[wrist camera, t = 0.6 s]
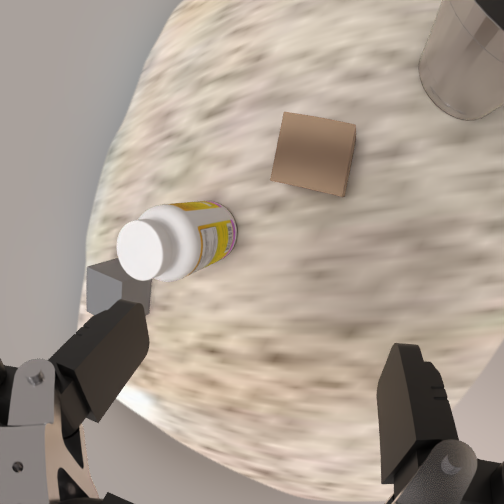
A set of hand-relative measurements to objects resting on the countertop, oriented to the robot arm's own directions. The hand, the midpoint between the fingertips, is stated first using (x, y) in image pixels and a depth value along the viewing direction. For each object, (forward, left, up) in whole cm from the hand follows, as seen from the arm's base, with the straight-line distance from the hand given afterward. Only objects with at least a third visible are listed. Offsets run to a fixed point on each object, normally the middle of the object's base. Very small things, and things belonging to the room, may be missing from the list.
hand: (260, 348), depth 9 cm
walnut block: (-6, -5, -23) cm, 25 cm away
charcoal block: (+20, -16, -23) cm, 35 cm away
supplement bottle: (+7, -11, -23) cm, 27 cm away
